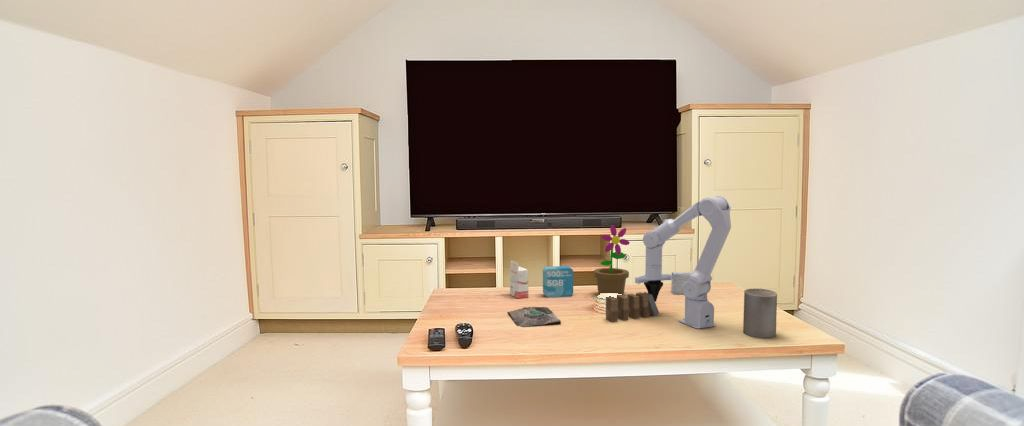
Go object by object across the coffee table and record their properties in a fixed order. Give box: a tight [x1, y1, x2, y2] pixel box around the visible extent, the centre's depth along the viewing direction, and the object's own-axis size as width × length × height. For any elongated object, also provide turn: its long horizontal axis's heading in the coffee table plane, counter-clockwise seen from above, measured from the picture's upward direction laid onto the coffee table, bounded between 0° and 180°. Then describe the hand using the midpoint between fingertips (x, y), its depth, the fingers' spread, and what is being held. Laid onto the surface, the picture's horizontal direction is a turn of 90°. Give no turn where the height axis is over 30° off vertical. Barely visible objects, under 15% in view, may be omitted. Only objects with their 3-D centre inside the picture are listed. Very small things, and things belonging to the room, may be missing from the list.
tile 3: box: [626, 293, 640, 320], centre depth 195 cm, size 4×2×8 cm, turn 22°
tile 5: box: [605, 296, 619, 323], centre depth 191 cm, size 4×2×8 cm, turn 22°
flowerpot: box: [593, 224, 631, 296], centre depth 225 cm, size 14×14×30 cm
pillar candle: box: [742, 288, 778, 339], centre depth 175 cm, size 10×10×15 cm
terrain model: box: [507, 306, 562, 328], centre depth 195 cm, size 20×15×3 cm
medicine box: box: [670, 271, 692, 295], centre depth 229 cm, size 8×4×9 cm, turn 84°
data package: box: [542, 265, 574, 298], centre depth 227 cm, size 12×4×12 cm, turn 99°
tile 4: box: [617, 295, 629, 322], centre depth 193 cm, size 4×2×8 cm, turn 23°
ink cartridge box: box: [509, 260, 529, 299], centre depth 226 cm, size 9×5×15 cm, turn 25°
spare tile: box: [643, 291, 660, 317], centre depth 197 cm, size 4×2×8 cm, turn 22°
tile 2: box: [635, 291, 651, 319], centre depth 196 cm, size 4×2×8 cm, turn 22°
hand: (653, 301), depth 198 cm, fingers closed
